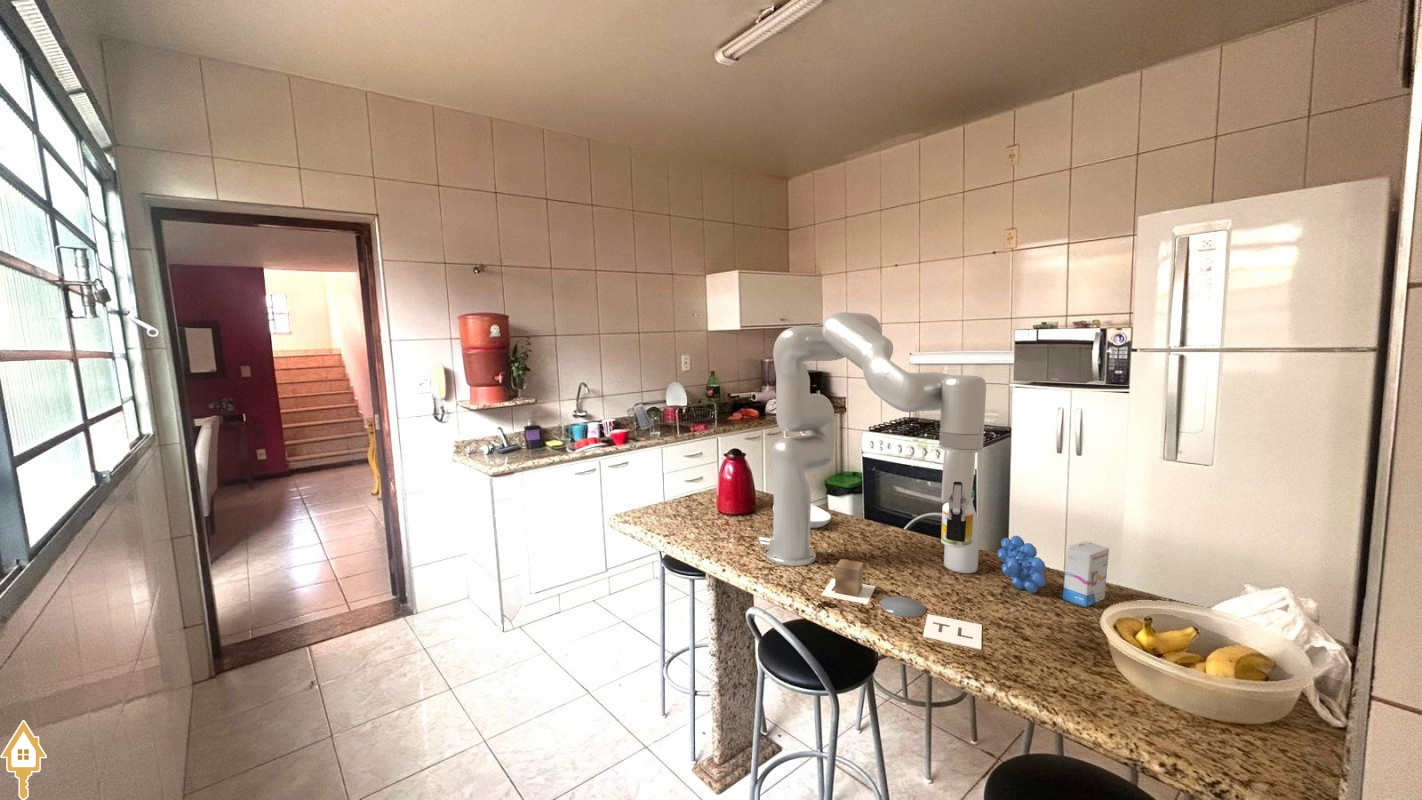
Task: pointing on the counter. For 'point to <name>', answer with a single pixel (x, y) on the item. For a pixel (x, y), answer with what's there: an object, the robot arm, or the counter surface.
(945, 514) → the supplement bottle
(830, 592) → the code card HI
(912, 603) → the gray round coaster
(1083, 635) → the counter surface
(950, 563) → the milk bottle
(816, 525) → the spoon rest
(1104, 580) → the ink box
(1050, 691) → the counter surface
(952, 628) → the card
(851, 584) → the walnut block
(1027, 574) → the grapes
